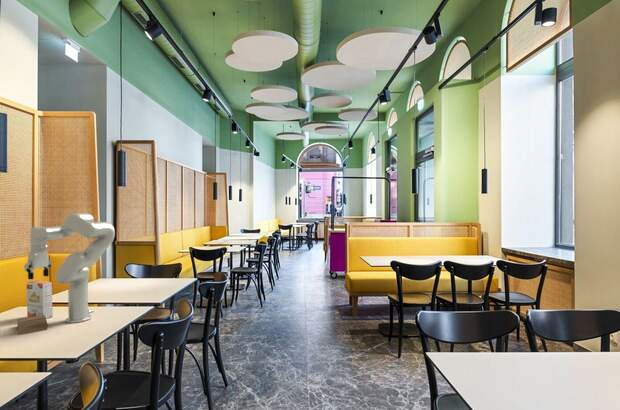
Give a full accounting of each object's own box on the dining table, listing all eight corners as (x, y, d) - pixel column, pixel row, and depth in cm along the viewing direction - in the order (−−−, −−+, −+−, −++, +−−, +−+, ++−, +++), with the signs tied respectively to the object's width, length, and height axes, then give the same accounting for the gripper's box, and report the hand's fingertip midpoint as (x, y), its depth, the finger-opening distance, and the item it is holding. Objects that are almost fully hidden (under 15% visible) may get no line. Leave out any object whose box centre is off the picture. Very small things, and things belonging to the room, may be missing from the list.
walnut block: (17, 326, 210) (17, 318, 210) (44, 321, 217) (44, 314, 217) (18, 334, 196) (18, 326, 196) (47, 329, 203) (47, 321, 203)
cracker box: (26, 318, 226) (25, 282, 226) (37, 315, 232) (36, 280, 232) (42, 320, 221) (41, 283, 221) (53, 317, 226) (52, 281, 226)
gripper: (46, 246, 236) (46, 274, 236) (19, 249, 219) (19, 280, 219) (56, 247, 234) (56, 275, 234) (29, 250, 217) (29, 280, 217)
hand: (38, 277), depth 226 cm, fingers open, 9 cm apart
